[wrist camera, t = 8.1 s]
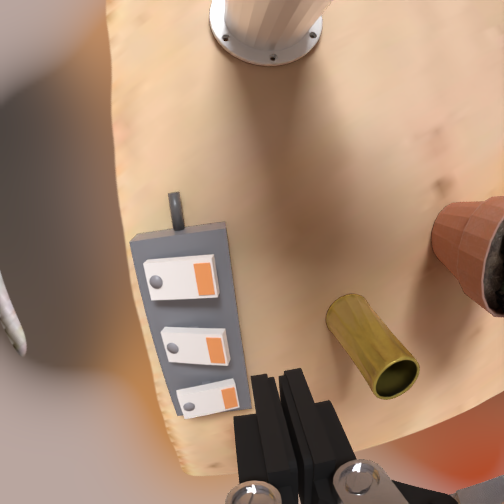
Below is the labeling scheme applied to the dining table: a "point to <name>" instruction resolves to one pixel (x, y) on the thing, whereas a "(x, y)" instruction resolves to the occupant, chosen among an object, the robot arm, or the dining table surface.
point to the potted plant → (474, 249)
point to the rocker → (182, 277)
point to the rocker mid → (196, 345)
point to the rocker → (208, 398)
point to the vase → (372, 347)
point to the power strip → (193, 303)
